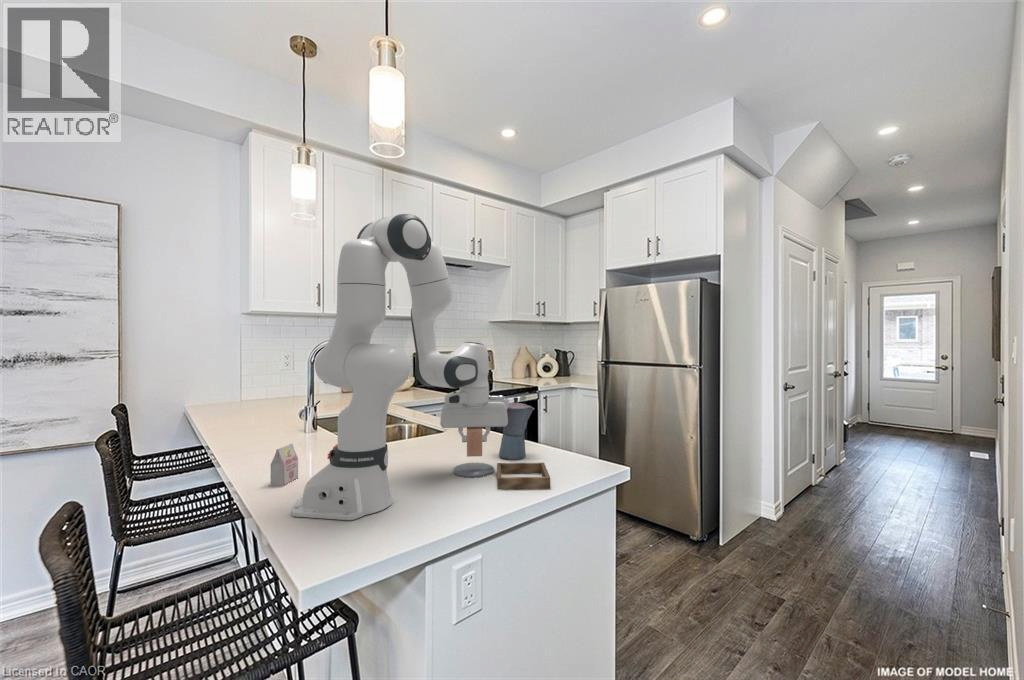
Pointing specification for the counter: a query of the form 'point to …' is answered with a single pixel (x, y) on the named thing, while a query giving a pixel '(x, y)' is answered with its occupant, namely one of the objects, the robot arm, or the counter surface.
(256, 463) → the counter surface
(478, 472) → the slate coaster
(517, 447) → the moka pot
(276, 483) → the milk carton
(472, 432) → the terracotta clay block
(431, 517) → the counter surface
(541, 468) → the frame
